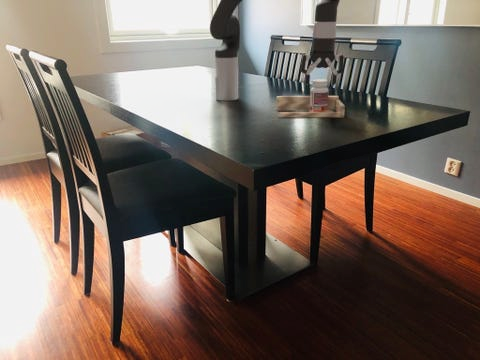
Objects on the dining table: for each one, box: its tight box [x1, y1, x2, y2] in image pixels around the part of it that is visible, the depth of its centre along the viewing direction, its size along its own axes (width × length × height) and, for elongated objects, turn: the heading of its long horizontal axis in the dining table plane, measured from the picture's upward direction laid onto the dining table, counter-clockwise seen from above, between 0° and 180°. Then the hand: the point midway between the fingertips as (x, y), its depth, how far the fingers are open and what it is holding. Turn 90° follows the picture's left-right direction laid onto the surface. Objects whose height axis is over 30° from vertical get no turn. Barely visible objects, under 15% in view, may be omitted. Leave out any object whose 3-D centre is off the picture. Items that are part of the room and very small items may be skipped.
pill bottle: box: [310, 78, 329, 112], centre depth 138 cm, size 6×6×11 cm
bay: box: [275, 95, 346, 118], centre depth 139 cm, size 23×13×5 cm, turn 88°
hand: (320, 85), depth 137 cm, fingers open, 8 cm apart
